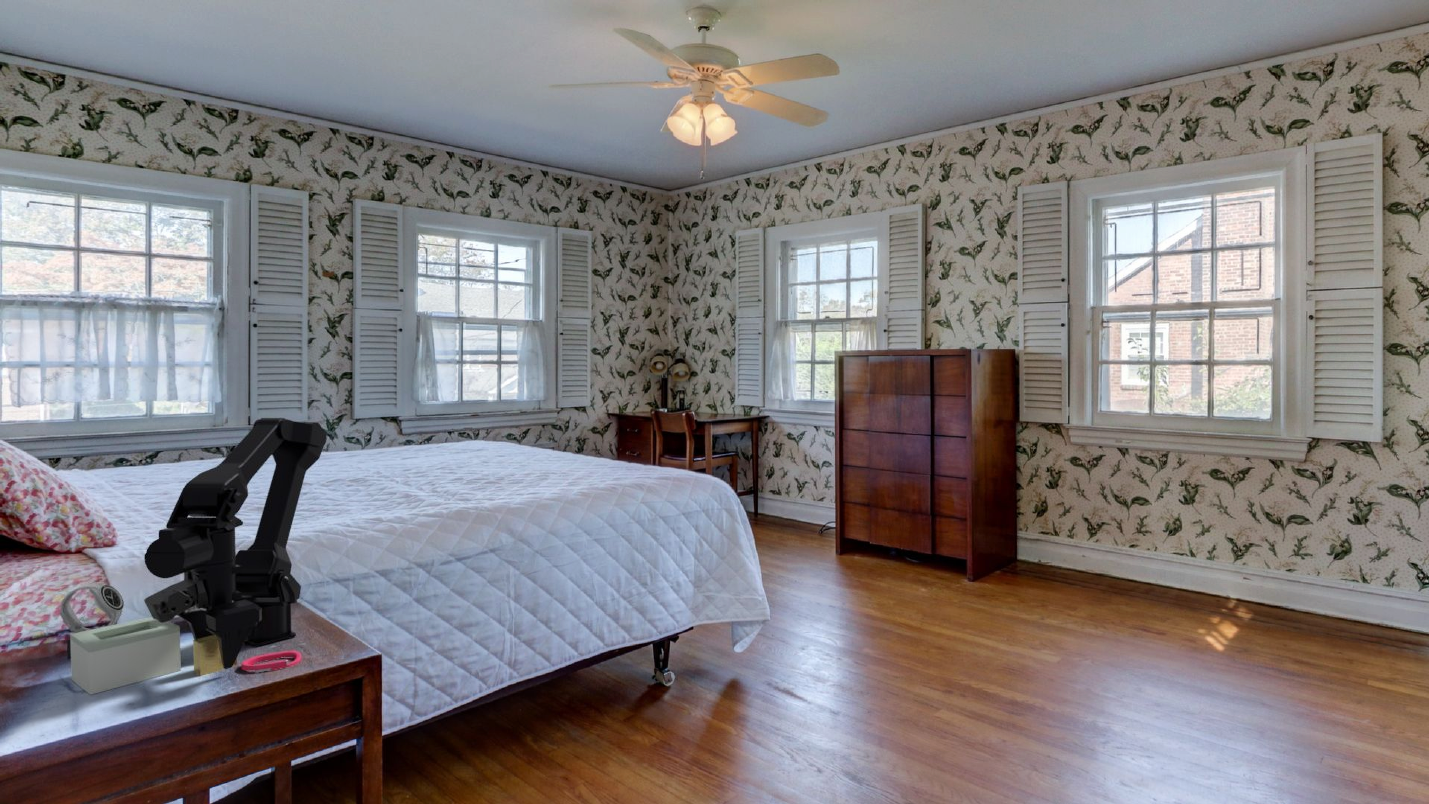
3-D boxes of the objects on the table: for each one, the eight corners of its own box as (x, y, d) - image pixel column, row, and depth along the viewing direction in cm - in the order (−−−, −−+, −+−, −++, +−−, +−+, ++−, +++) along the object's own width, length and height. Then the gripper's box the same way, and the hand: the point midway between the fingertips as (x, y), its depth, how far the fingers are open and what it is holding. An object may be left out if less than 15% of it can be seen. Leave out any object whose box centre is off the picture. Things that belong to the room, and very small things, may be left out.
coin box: (159, 657, 121) (158, 615, 121) (180, 670, 116) (179, 626, 116) (71, 679, 112) (70, 634, 112) (90, 694, 107) (89, 647, 107)
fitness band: (240, 677, 114) (240, 668, 114) (242, 665, 119) (242, 655, 119) (301, 668, 118) (301, 658, 118) (301, 656, 123) (301, 646, 123)
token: (230, 662, 119) (229, 631, 119) (237, 666, 118) (236, 634, 118) (193, 672, 115) (193, 639, 115) (200, 676, 114) (199, 643, 114)
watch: (113, 655, 122) (112, 587, 122) (54, 660, 120) (52, 591, 120) (130, 643, 127) (129, 578, 127) (73, 647, 125) (72, 582, 125)
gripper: (128, 562, 115) (131, 663, 116) (175, 582, 104) (177, 694, 105) (211, 548, 124) (213, 642, 125) (262, 566, 113) (264, 669, 114)
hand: (215, 661), depth 117 cm, fingers open, 9 cm apart
